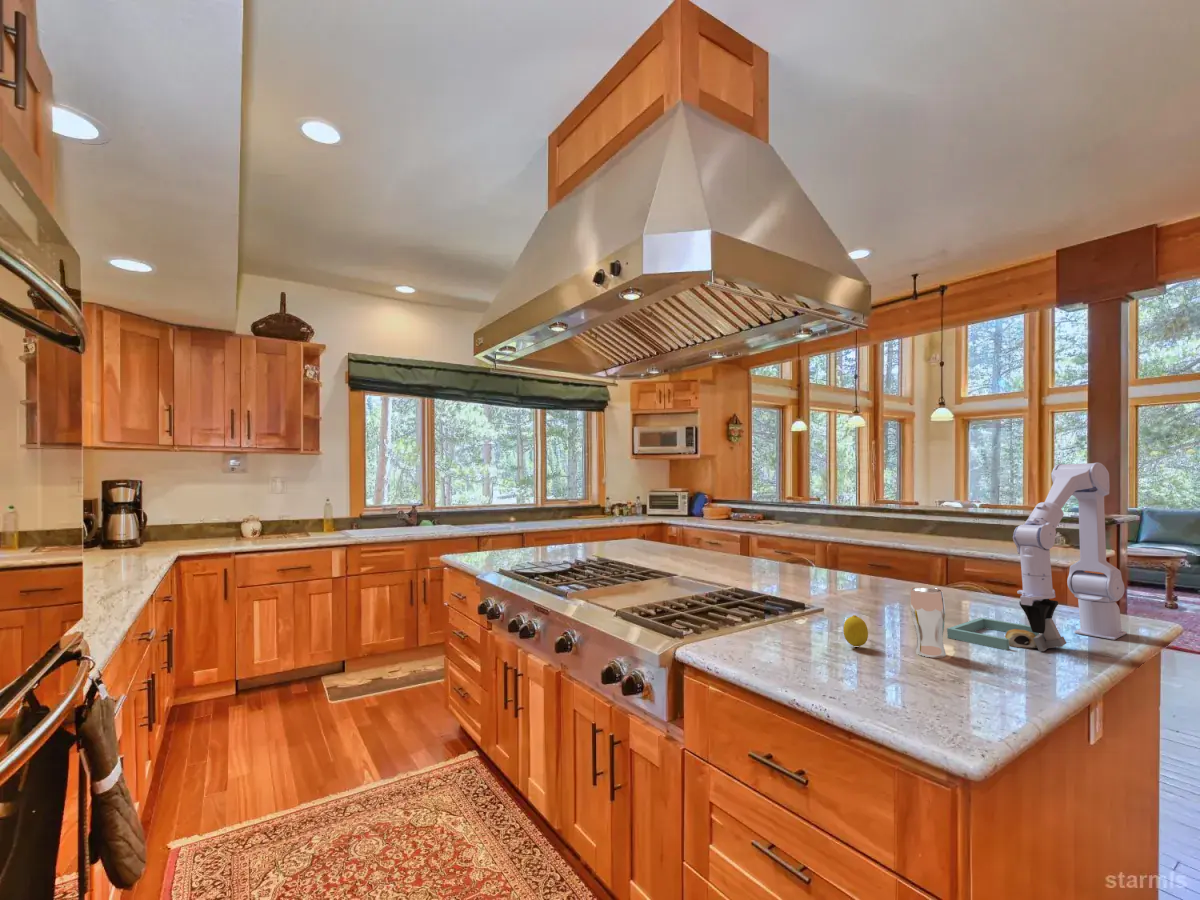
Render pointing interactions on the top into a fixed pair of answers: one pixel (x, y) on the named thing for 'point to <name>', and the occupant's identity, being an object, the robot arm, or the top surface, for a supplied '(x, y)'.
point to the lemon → (855, 631)
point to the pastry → (1021, 638)
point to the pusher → (1049, 637)
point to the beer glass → (928, 620)
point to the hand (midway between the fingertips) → (1040, 631)
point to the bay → (968, 635)
